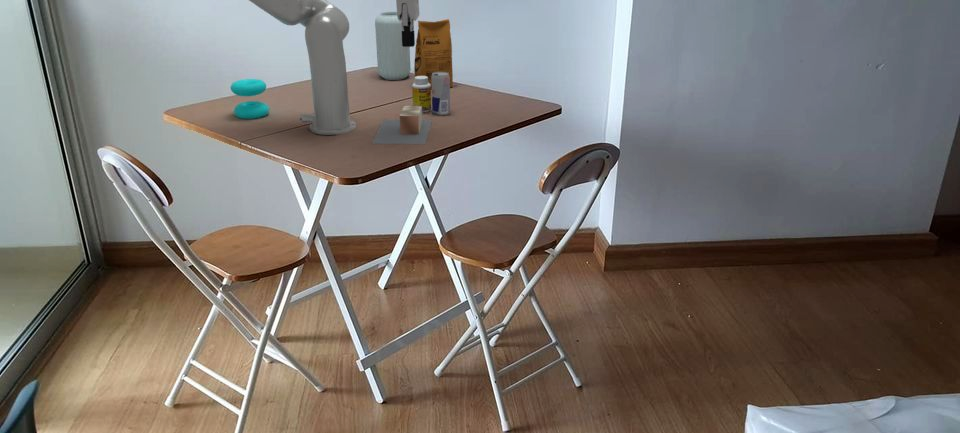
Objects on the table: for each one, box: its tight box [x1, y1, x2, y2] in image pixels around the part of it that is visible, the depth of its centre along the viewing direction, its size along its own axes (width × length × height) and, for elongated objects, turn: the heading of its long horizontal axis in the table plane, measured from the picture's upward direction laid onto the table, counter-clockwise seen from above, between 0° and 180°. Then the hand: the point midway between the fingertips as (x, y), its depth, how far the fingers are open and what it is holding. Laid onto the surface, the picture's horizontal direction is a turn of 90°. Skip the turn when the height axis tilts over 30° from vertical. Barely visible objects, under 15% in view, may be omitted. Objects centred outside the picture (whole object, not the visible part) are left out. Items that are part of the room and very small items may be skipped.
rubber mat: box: [371, 119, 433, 145], centre depth 203 cm, size 14×22×1 cm, turn 178°
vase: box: [374, 11, 411, 81], centre depth 257 cm, size 12×12×22 cm
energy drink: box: [431, 72, 451, 117], centre depth 217 cm, size 5×5×12 cm
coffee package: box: [413, 18, 454, 89], centre depth 245 cm, size 10×12×22 cm
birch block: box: [399, 105, 423, 134], centre depth 204 cm, size 5×5×10 cm
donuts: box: [230, 78, 270, 120], centre depth 216 cm, size 10×10×10 cm
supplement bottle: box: [411, 76, 432, 114], centre depth 221 cm, size 6×6×10 cm
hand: (408, 45), depth 196 cm, fingers closed
